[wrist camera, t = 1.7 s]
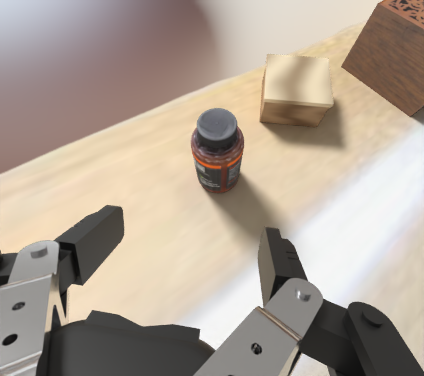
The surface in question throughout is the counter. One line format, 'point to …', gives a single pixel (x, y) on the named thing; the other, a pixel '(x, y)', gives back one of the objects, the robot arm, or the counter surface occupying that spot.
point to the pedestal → (296, 90)
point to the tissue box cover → (392, 54)
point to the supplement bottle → (217, 150)
